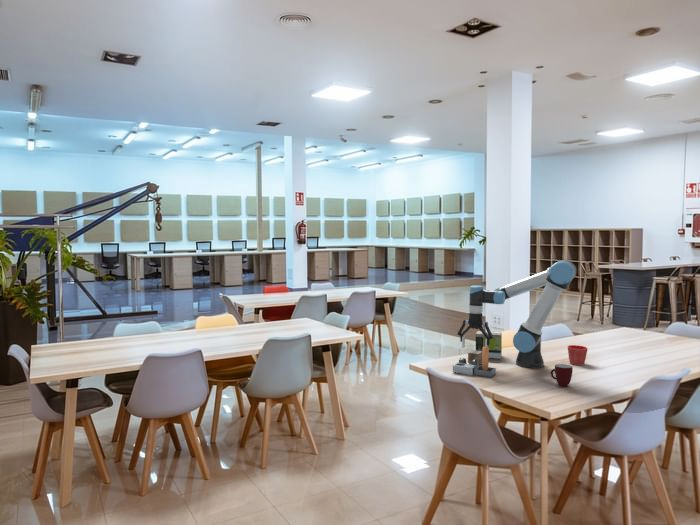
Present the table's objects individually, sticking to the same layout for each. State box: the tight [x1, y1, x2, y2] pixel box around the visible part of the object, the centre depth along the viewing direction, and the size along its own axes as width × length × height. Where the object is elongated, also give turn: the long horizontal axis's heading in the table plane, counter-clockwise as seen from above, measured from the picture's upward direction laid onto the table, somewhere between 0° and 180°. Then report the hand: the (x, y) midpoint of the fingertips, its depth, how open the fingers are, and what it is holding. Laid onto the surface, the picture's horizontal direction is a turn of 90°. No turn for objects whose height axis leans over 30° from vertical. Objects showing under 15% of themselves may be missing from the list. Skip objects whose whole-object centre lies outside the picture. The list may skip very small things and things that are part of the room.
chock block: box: [467, 349, 482, 366], centre depth 299 cm, size 6×8×7 cm
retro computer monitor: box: [475, 330, 503, 359], centre depth 317 cm, size 15×10×15 cm
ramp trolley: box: [452, 357, 480, 376], centre depth 283 cm, size 11×13×6 cm
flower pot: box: [567, 344, 588, 366], centre depth 300 cm, size 11×11×10 cm
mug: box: [550, 363, 573, 388], centre depth 256 cm, size 11×8×10 cm
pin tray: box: [473, 365, 497, 378], centre depth 276 cm, size 9×9×3 cm
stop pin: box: [481, 347, 490, 371], centre depth 276 cm, size 3×3×14 cm
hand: (474, 349), depth 299 cm, fingers open, 13 cm apart
